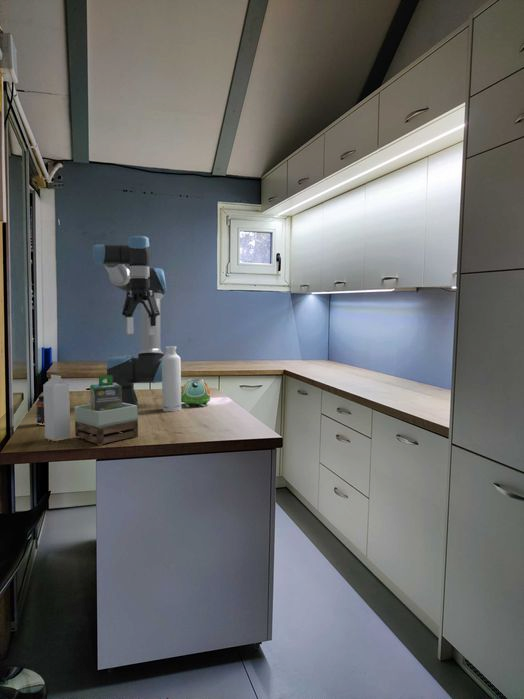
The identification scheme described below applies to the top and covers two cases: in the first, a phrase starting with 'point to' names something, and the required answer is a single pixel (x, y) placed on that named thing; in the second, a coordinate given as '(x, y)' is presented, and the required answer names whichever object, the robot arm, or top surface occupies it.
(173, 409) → the bottle
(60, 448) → the top surface
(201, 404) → the turtle holder
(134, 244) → the robot arm
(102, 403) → the chalk box
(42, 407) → the supplement bottle
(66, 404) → the milk
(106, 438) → the lower crate
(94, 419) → the box
